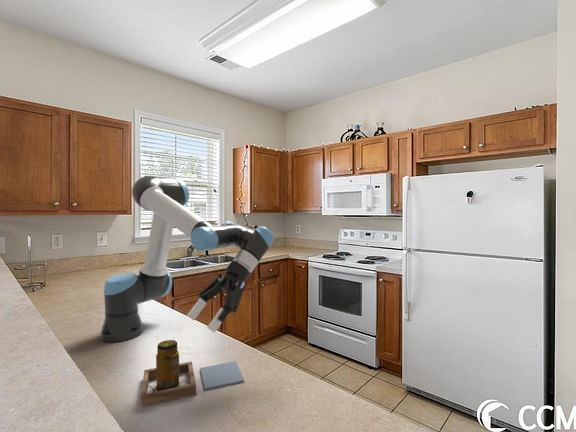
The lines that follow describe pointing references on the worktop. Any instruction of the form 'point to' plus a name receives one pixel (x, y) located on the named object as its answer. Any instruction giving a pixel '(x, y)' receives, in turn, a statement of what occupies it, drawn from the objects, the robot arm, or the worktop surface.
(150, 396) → the pocket
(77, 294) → the worktop surface
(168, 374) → the condiment
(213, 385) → the mat
